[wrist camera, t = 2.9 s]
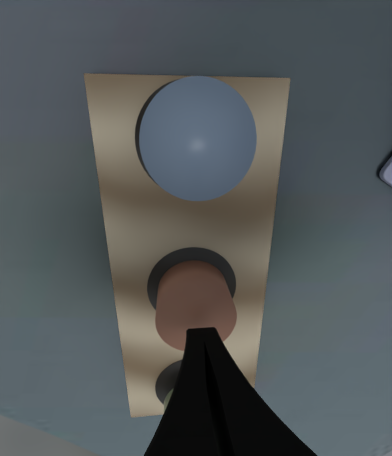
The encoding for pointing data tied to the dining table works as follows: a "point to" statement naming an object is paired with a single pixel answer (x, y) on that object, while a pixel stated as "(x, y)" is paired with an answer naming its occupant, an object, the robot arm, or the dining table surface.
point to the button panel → (181, 226)
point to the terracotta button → (193, 302)
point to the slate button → (197, 138)
